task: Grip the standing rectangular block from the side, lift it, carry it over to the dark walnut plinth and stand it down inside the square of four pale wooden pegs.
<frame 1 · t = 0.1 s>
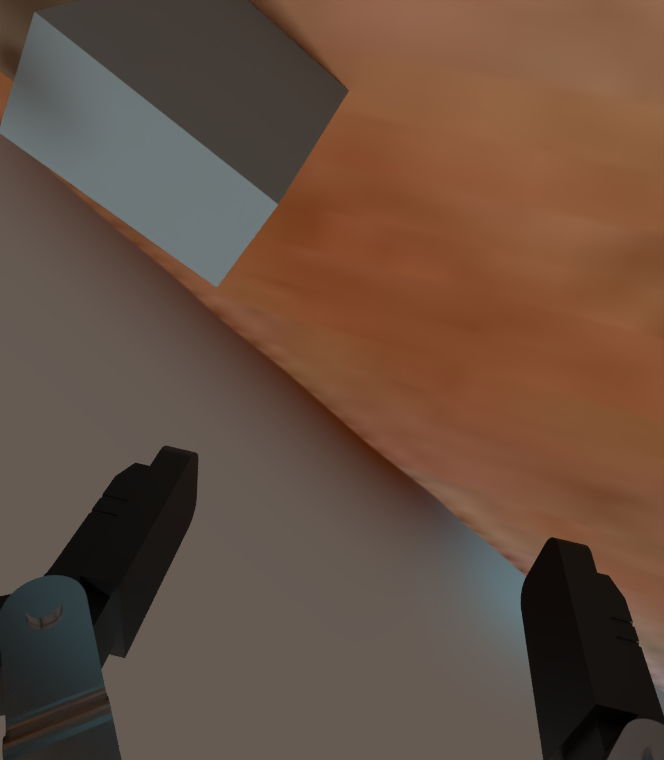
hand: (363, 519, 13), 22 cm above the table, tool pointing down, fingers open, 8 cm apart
rectangular block: (261, 68, 28), on the table
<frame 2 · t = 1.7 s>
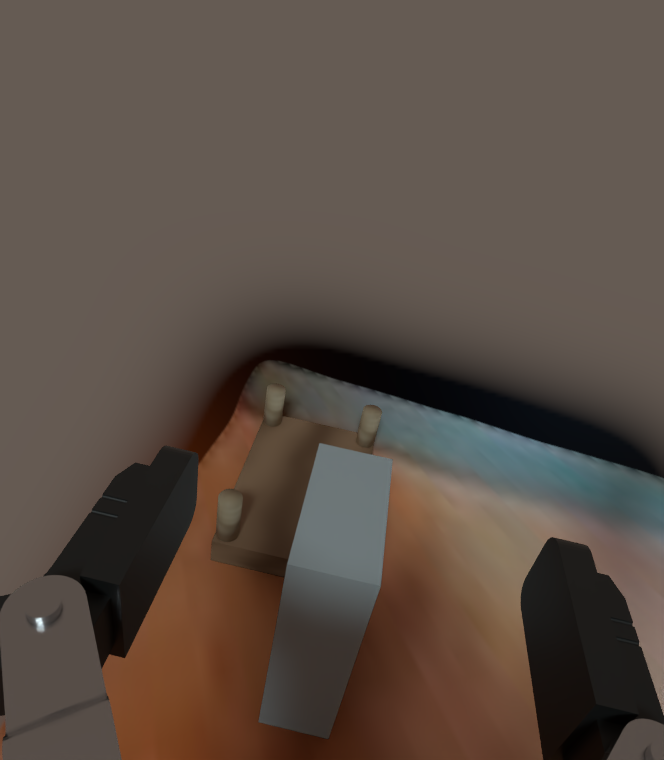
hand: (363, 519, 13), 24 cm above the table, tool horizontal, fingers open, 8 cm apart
peg stand: (301, 499, 45), on the table
rectangular block: (306, 661, 34), on the table
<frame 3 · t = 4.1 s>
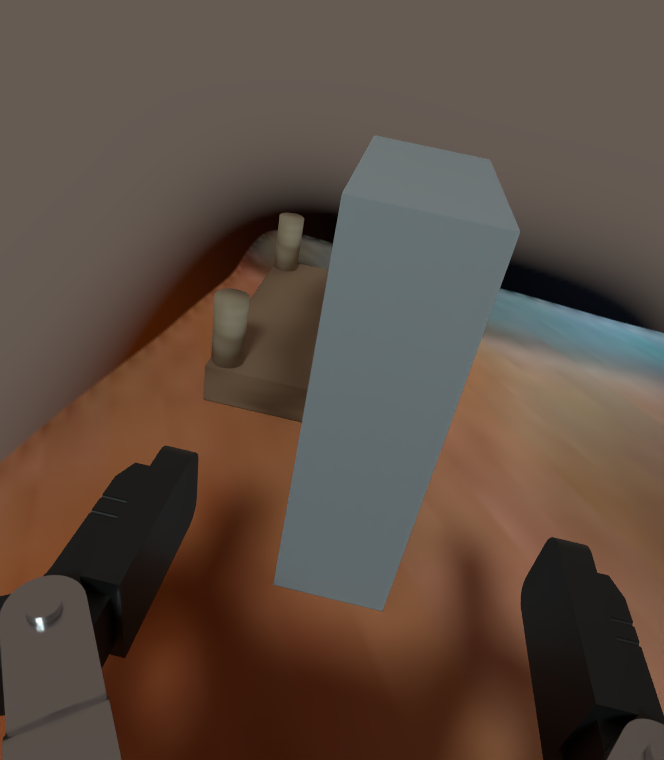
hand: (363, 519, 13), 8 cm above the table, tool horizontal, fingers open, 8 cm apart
peg stand: (324, 349, 34), on the table
rectangular block: (343, 516, 23), on the table
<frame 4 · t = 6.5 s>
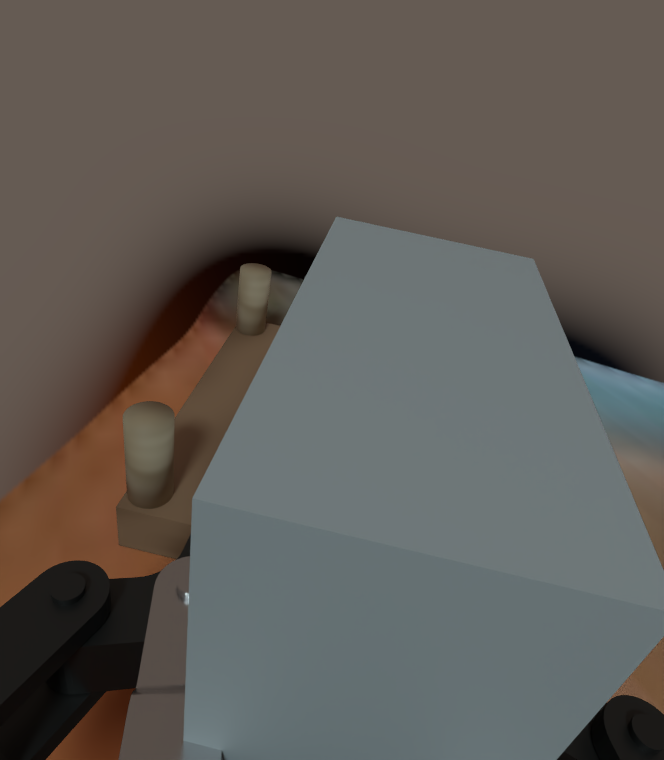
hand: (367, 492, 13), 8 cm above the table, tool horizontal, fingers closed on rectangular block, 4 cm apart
peg stand: (294, 446, 26), on the table
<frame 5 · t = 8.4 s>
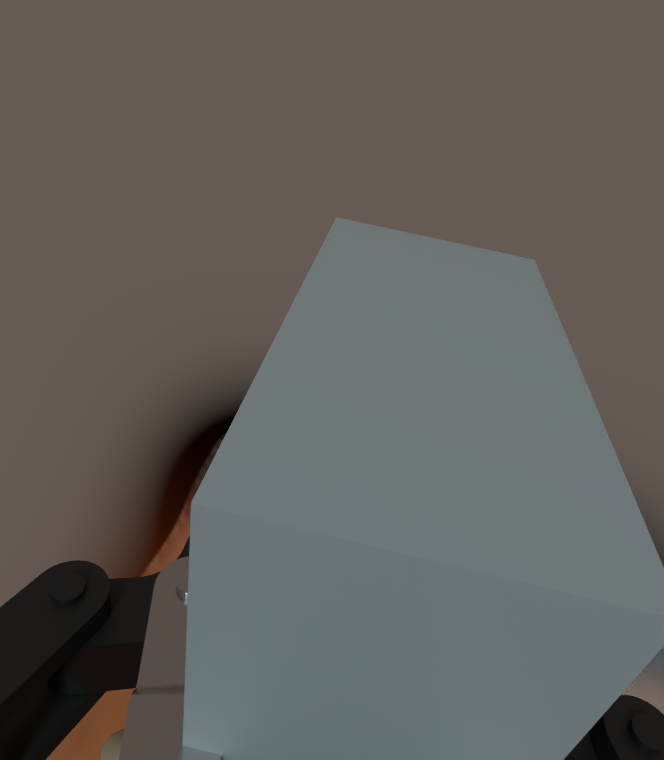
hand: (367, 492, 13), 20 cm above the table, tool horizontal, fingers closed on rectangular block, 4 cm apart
peg stand: (266, 684, 29), on the table
when the fingers open (12 cm above the table, at t = 10.7 s): rectangular block drops 2 cm, resting on peg stand.
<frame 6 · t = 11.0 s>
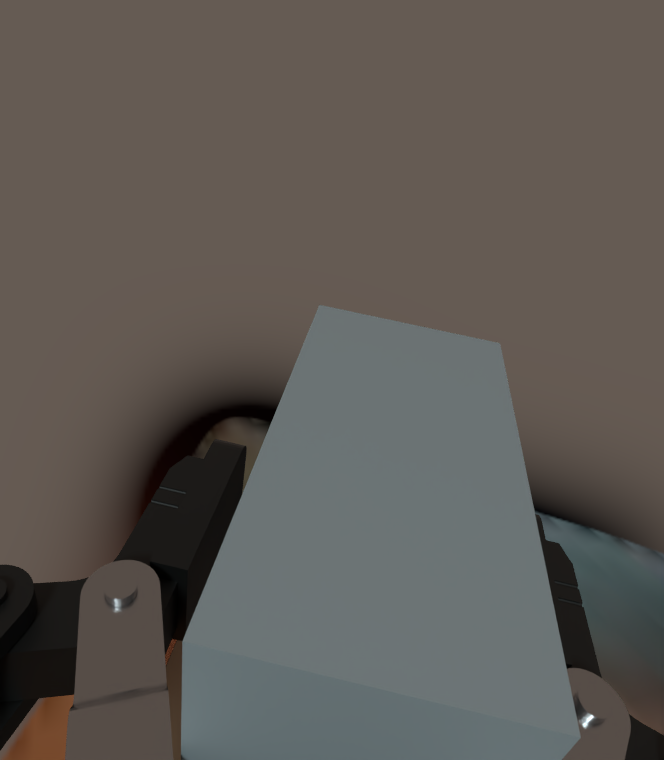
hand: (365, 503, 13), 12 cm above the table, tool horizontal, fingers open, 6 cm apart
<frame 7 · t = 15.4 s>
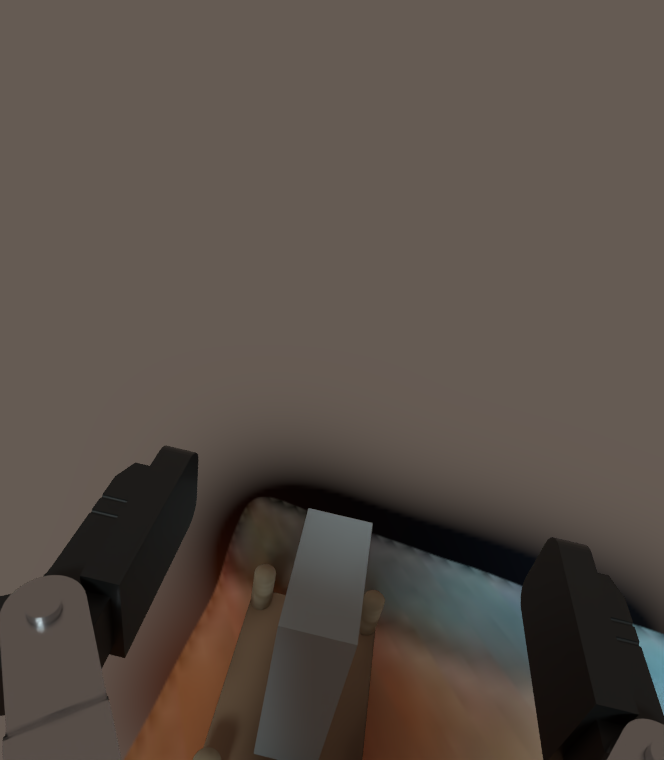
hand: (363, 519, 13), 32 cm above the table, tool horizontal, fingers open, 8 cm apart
peg stand: (292, 710, 40), on the table
rectangular block: (297, 697, 38), point 2 cm above the table, touching peg stand
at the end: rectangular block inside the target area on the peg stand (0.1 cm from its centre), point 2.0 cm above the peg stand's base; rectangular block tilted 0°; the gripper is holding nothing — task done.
